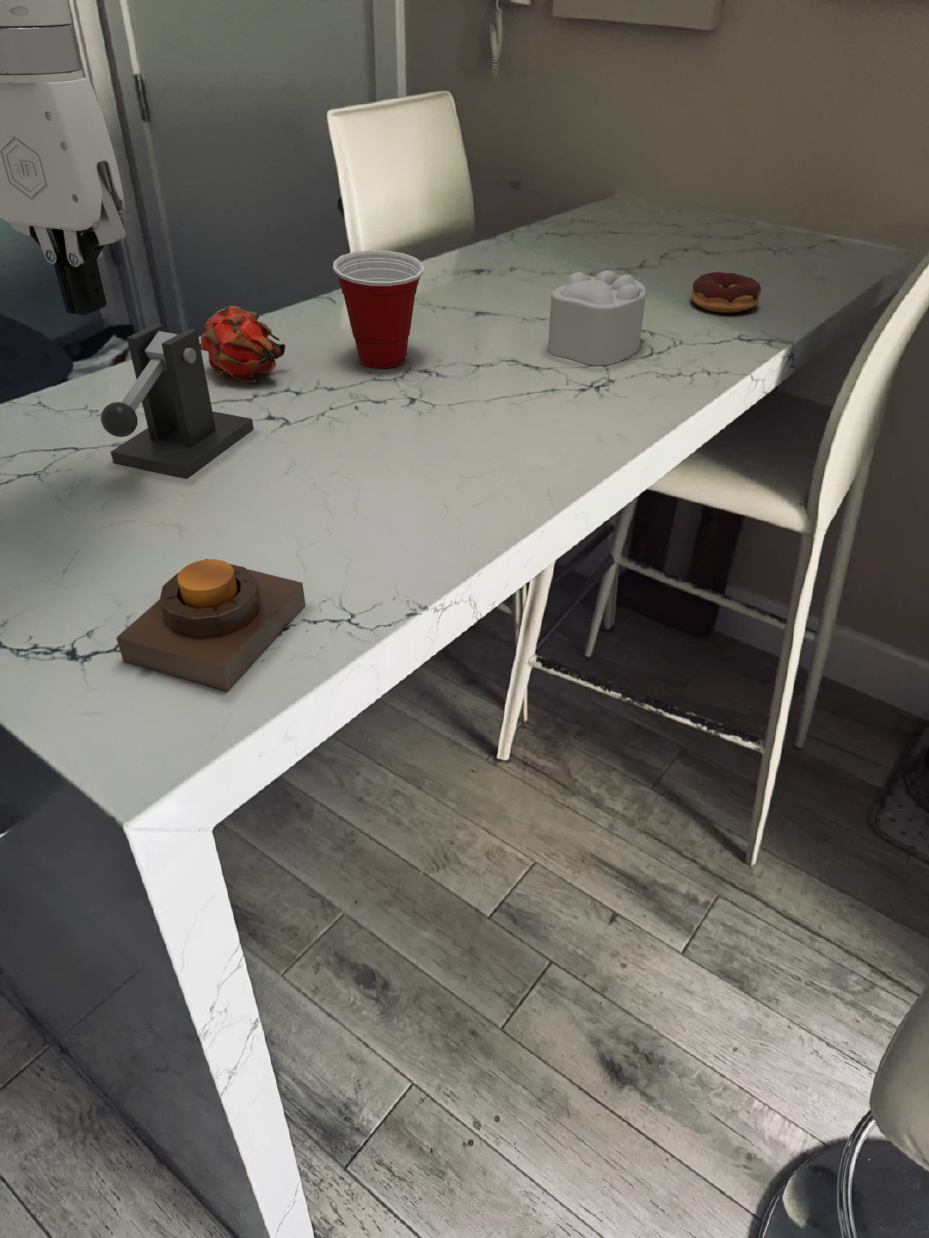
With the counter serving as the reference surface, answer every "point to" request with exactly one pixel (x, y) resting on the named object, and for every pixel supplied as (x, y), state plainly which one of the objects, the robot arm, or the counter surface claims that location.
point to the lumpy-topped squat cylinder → (596, 318)
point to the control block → (212, 629)
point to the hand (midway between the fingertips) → (87, 309)
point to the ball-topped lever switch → (136, 391)
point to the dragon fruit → (240, 344)
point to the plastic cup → (379, 302)
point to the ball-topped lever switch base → (178, 411)
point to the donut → (725, 292)
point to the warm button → (207, 583)
